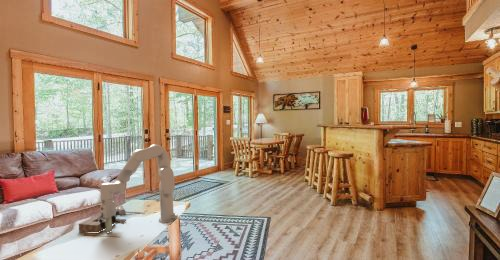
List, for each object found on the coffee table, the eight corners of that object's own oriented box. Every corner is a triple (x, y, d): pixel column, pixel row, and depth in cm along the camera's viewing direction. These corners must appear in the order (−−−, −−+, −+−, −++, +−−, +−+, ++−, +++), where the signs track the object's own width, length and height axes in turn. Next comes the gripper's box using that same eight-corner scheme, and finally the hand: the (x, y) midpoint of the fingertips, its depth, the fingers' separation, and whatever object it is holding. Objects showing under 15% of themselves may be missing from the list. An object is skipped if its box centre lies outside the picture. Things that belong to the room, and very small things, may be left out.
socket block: (115, 224, 193) (114, 216, 193) (97, 233, 178) (97, 225, 178) (97, 223, 197) (97, 215, 197) (79, 232, 182) (78, 223, 182)
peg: (113, 231, 182) (112, 214, 181) (109, 233, 178) (108, 216, 178) (109, 230, 182) (108, 214, 182) (105, 233, 179) (104, 216, 179)
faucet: (149, 212, 224) (135, 225, 196) (117, 210, 224) (99, 223, 196) (149, 207, 224) (136, 219, 196) (117, 205, 224) (99, 216, 196)
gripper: (101, 205, 170) (102, 230, 171) (120, 197, 187) (121, 220, 187) (92, 204, 172) (93, 229, 172) (112, 196, 189) (113, 220, 189)
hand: (108, 225), depth 180 cm, fingers open, 9 cm apart
